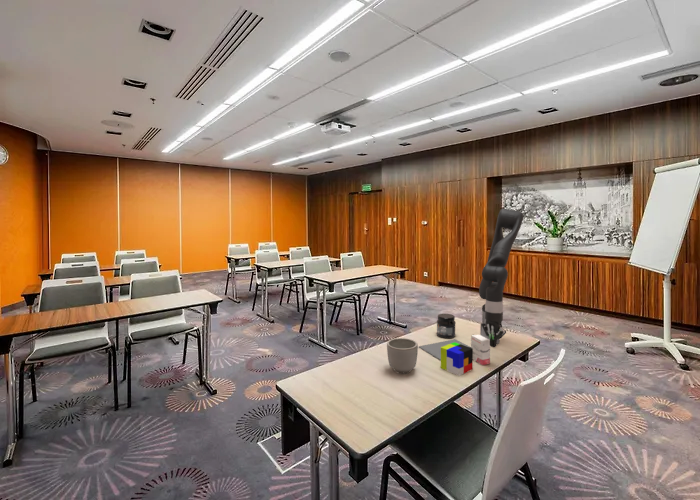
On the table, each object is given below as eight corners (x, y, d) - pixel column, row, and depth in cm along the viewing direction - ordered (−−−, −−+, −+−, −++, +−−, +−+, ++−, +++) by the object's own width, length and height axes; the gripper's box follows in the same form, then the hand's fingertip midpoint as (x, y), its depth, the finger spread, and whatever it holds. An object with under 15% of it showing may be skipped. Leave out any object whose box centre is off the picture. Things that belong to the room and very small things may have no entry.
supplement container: (451, 332, 205) (451, 312, 204) (458, 338, 195) (458, 318, 194) (434, 333, 205) (434, 313, 203) (440, 339, 194) (440, 318, 193)
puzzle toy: (458, 376, 151) (459, 354, 150) (440, 368, 159) (440, 347, 158) (472, 369, 156) (472, 348, 155) (454, 362, 165) (454, 342, 163)
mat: (418, 347, 184) (418, 346, 183) (455, 340, 192) (455, 339, 192) (443, 362, 164) (443, 361, 164) (482, 353, 173) (482, 352, 173)
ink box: (490, 364, 162) (491, 339, 160) (481, 365, 160) (482, 341, 159) (478, 356, 170) (479, 333, 169) (470, 358, 168) (470, 334, 167)
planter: (381, 367, 160) (381, 340, 159) (406, 361, 166) (406, 336, 165) (397, 380, 148) (397, 351, 146) (424, 373, 153) (424, 345, 152)
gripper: (476, 307, 160) (476, 343, 161) (499, 314, 147) (498, 353, 149) (489, 305, 162) (488, 340, 164) (512, 312, 150) (511, 350, 152)
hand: (493, 346), depth 157 cm, fingers closed
